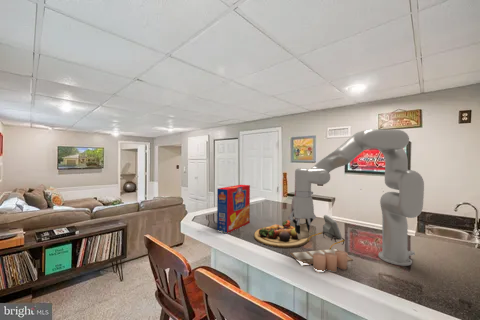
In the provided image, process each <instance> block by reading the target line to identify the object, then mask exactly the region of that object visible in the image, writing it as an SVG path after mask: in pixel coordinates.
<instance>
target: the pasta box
mask: <svg viewBox="0 0 480 320" xmlns="http://www.w3.org/2000/svg"><path fill="white" fill-rule="evenodd" d="M216 189H217V192H216V194H217V195H216V196H217V200H216V201H217V202H216V203H217V206H216V209H217V212H216V213H217V214H216V218H217V219H216V220H217V222H216V223H217V224H216V227H217V228H216V229H217V230H219V231H223V232H227V233H228V232H230V233H232V232H234V231H236V230H239V229H240V227H241V228H243V227H245V226H247V225H249V224H251V222H250V221H251V220H250V219H251V218H250V217H251V211H250V210H251V209H250V208H251V206H250V203H251V194H250V193H251V185H249V184H236V185H231V186H223V187H219V188H216ZM242 226H243V227H242ZM235 229H236V230H235ZM233 230H234V231H233ZM231 231H232V232H231ZM228 234H229V233H228Z"/></svg>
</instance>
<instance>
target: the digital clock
mask: <svg viewBox="0 0 480 320" xmlns="http://www.w3.org/2000/svg"><path fill="white" fill-rule="evenodd" d="M323 219H324V220H323V221H324V223H325V224H323V225H322V232H327V233H324V235H326V236H327V237H328V238H332V237H333V236H338V237H336V239H342V238H343V237H342V234H341V230H340V228H339V225H338V222H337V221H336V220H335V219H333V218H332V217H330V216H328V215H326V214H324V215H323ZM328 233H330V234H328ZM331 234H332V235H333V236H332V235H331ZM340 237H341V238H340ZM333 238H334V237H333Z"/></svg>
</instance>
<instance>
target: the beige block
mask: <svg viewBox="0 0 480 320" xmlns="http://www.w3.org/2000/svg"><path fill="white" fill-rule="evenodd" d="M299 225H300V234H298V233H297V236H298V239H306V238H308V239H309V238H310V237H311V236H310V231H309V232H308V229H307V224H305V223H299Z"/></svg>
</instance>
